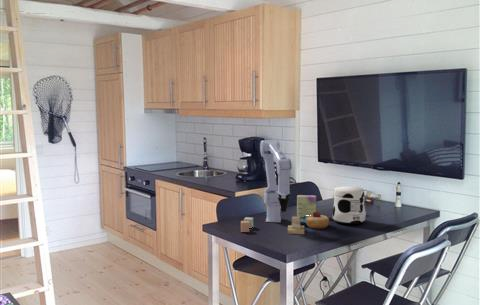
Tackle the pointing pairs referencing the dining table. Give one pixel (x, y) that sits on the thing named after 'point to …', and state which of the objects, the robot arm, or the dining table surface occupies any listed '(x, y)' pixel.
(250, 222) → the sage block
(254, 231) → the dining table surface
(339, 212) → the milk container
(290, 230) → the oak slab
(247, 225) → the terracotta block
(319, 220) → the pastry
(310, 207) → the box
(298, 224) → the maple block
